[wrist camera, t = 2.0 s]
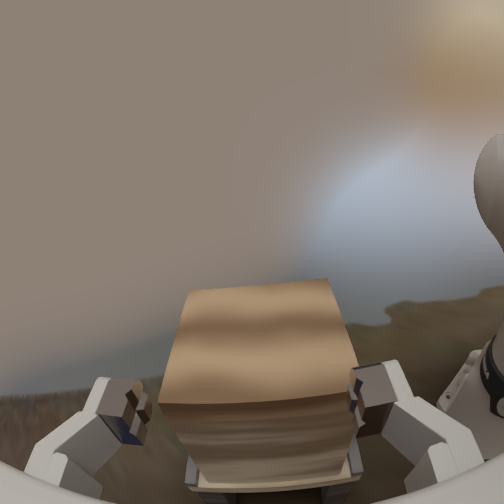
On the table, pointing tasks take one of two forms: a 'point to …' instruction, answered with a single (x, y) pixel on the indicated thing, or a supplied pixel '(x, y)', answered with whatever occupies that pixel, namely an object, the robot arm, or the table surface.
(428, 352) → the table surface
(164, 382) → the wood grain block
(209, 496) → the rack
